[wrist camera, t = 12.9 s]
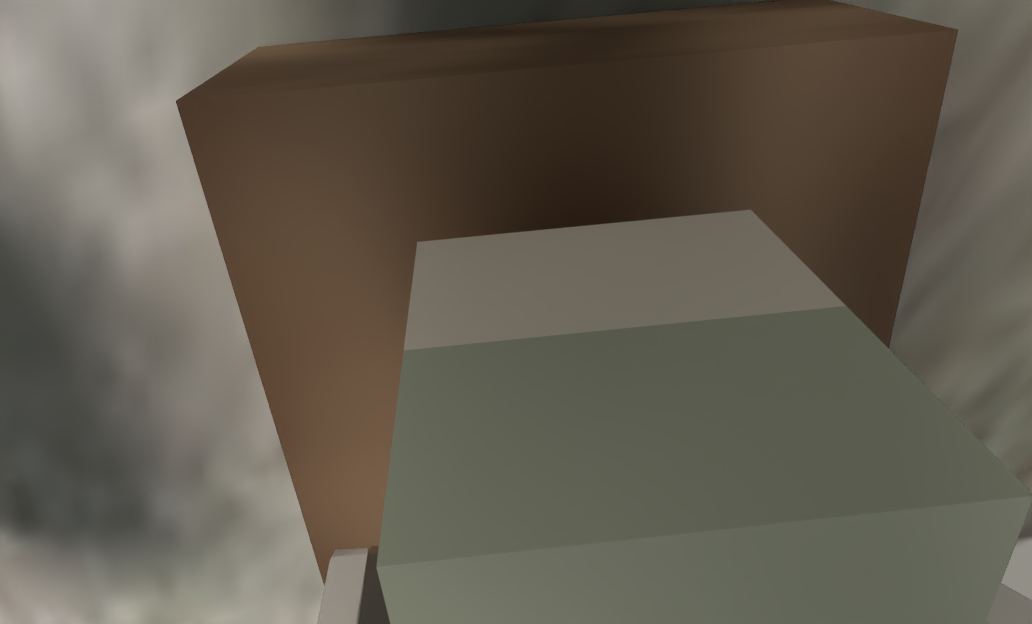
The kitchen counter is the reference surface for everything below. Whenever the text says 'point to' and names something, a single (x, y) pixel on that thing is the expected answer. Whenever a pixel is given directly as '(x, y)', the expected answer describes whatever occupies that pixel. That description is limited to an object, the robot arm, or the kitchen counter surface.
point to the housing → (673, 443)
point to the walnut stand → (538, 181)
